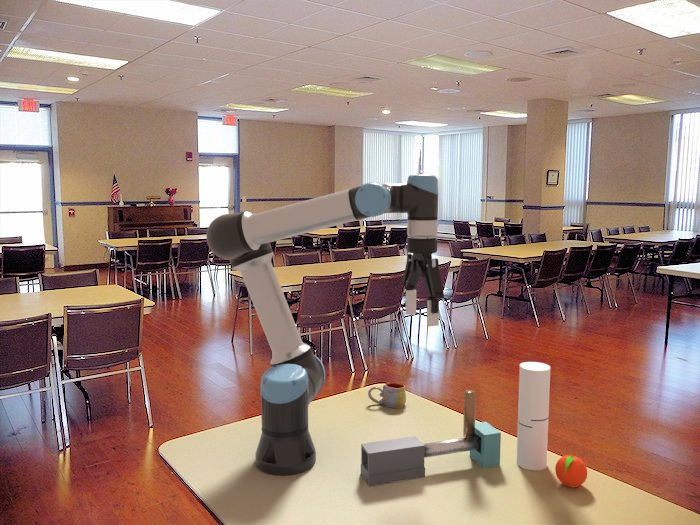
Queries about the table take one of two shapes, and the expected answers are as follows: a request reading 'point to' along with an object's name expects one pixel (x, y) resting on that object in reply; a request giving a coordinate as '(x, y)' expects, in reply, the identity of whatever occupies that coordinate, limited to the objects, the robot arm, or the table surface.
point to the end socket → (487, 445)
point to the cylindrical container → (533, 415)
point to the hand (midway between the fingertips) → (421, 319)
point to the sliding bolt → (469, 437)
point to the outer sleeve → (392, 460)
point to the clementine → (571, 471)
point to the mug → (391, 395)
